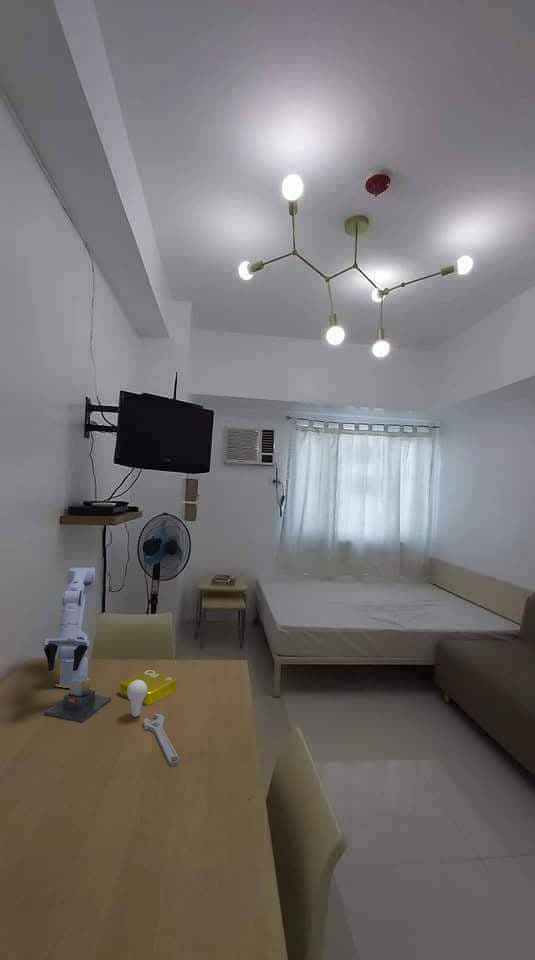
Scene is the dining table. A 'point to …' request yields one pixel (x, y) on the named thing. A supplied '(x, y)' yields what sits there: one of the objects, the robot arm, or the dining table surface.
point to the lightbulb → (136, 695)
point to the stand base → (78, 706)
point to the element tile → (151, 685)
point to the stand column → (80, 686)
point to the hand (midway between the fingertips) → (63, 670)
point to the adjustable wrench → (162, 738)
